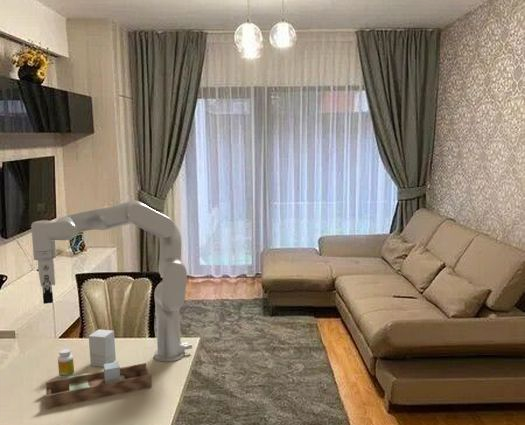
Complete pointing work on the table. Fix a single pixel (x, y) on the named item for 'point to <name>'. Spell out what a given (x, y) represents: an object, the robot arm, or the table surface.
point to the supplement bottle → (65, 363)
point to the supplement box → (102, 347)
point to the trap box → (95, 386)
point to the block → (111, 372)
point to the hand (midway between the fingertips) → (48, 299)
